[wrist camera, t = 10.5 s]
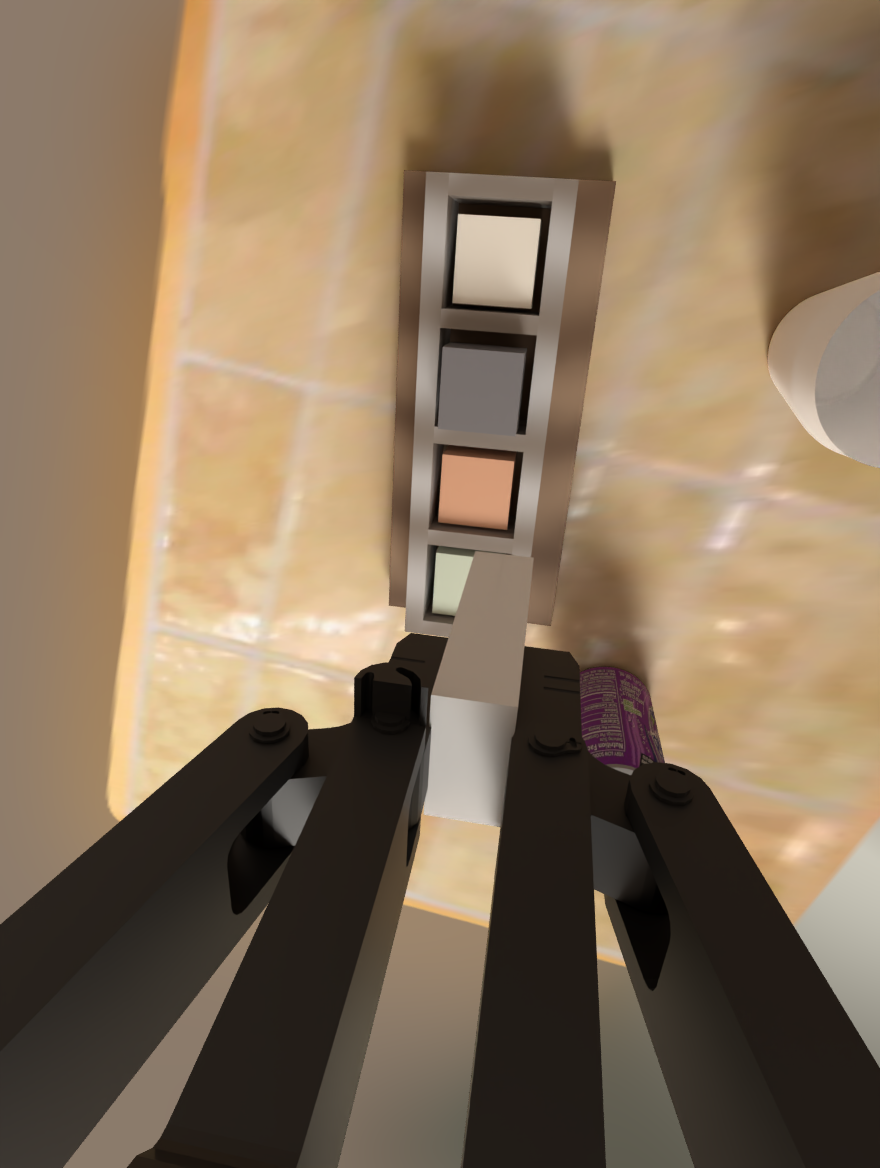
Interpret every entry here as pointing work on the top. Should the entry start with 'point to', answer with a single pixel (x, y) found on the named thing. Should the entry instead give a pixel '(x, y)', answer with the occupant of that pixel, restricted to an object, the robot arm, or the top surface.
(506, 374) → the key charcoal
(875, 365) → the cup
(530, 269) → the key ivory
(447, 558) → the key sage
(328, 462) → the top surface
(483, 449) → the key terracotta
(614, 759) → the beverage can
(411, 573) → the slotted block tray
